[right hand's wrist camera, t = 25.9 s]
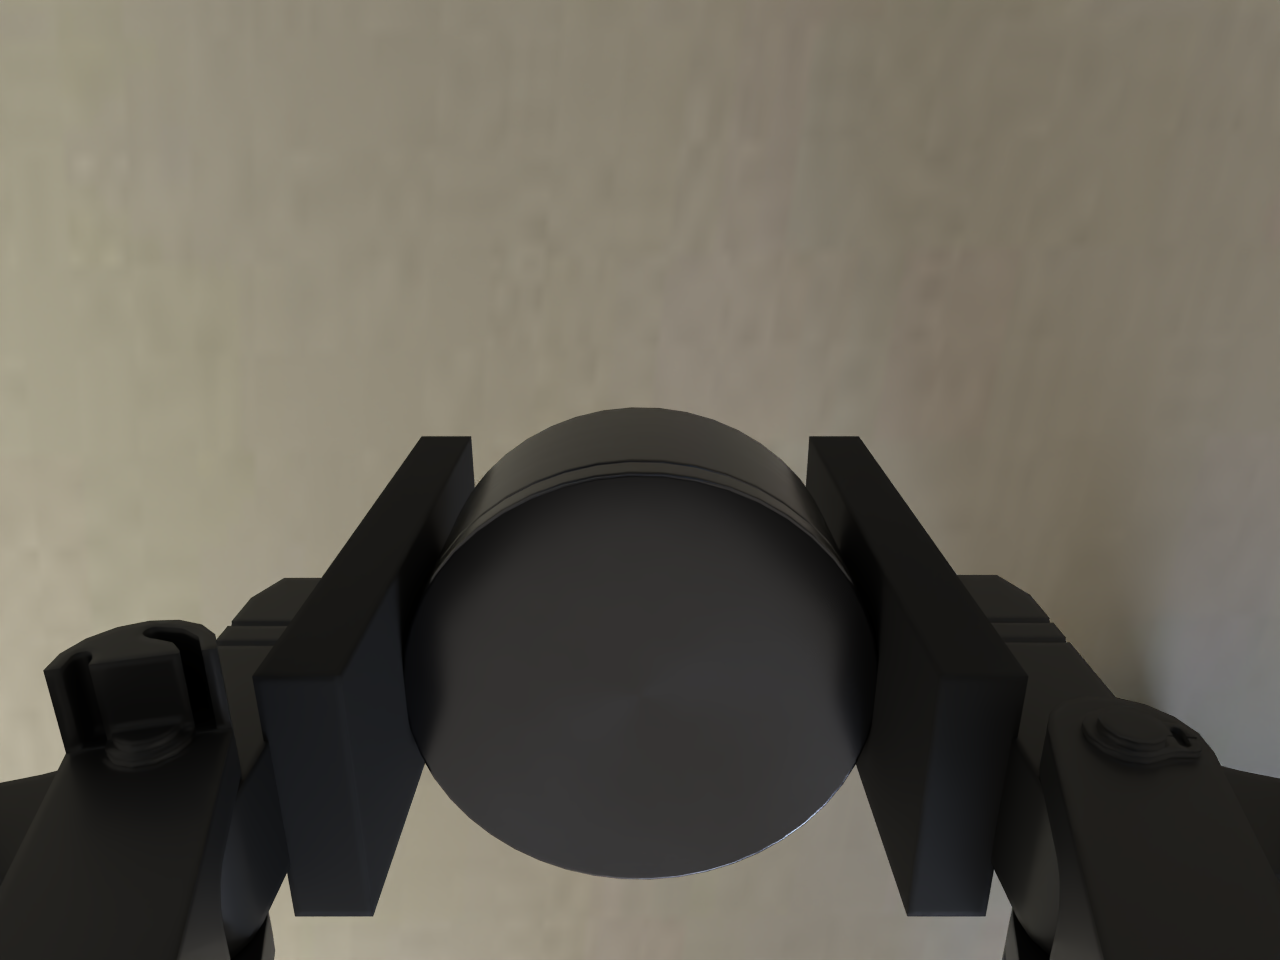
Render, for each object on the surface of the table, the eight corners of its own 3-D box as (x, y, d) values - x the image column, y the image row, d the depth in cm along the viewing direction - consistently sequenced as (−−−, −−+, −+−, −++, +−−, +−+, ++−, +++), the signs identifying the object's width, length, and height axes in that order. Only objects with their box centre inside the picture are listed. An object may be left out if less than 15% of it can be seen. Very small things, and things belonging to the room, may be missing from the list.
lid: (904, 485, 12) (965, 567, 9) (747, 797, 13) (768, 928, 11) (510, 347, 11) (478, 400, 9) (399, 694, 13) (351, 810, 11)
